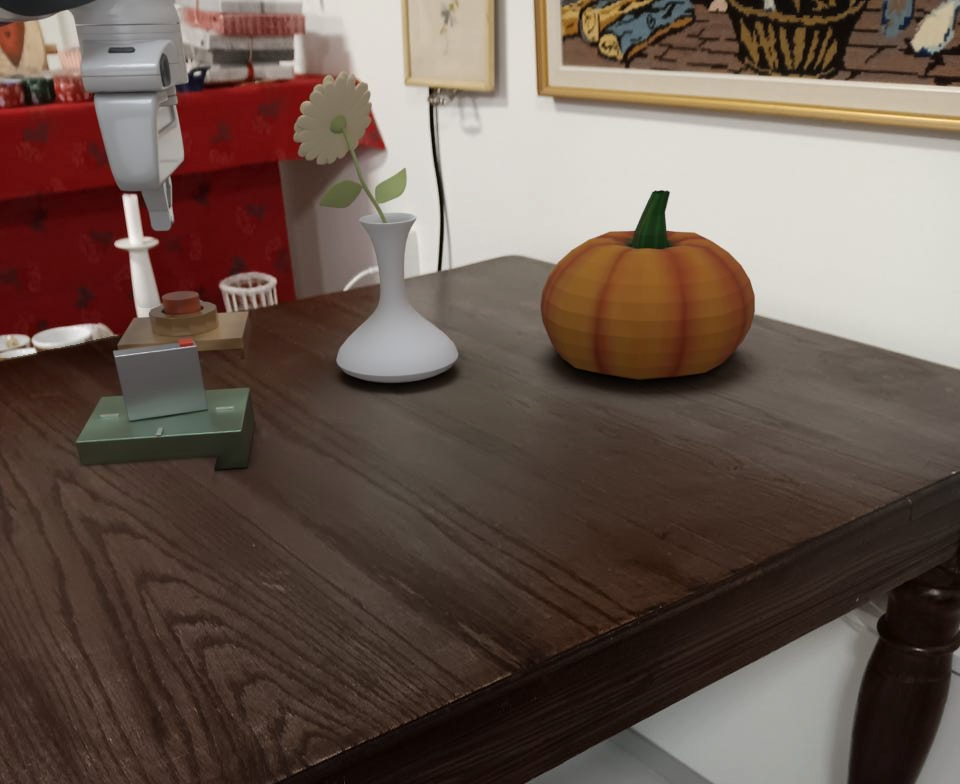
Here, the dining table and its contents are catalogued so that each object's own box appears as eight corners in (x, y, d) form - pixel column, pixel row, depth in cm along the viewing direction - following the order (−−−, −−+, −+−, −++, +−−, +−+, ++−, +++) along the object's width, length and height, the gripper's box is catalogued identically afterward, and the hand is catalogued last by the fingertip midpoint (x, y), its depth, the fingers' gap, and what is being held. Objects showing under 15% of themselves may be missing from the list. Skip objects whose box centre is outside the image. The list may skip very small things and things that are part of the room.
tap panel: (84, 480, 74) (74, 440, 72) (109, 431, 83) (100, 394, 81) (247, 468, 75) (240, 428, 74) (255, 421, 84) (249, 384, 82)
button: (162, 318, 99) (159, 300, 98) (167, 309, 102) (164, 292, 101) (199, 316, 99) (196, 298, 98) (203, 307, 102) (200, 290, 101)
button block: (121, 367, 97) (112, 326, 95) (138, 338, 106) (129, 300, 104) (245, 359, 99) (239, 318, 96) (251, 331, 107) (246, 293, 105)
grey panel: (129, 421, 76) (113, 353, 73) (127, 414, 77) (111, 347, 74) (208, 409, 78) (196, 342, 75) (205, 403, 79) (193, 337, 76)
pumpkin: (503, 374, 93) (500, 201, 85) (599, 324, 106) (605, 171, 98) (696, 410, 83) (714, 219, 75) (775, 350, 97) (798, 183, 89)
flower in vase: (430, 349, 100) (415, 63, 86) (479, 381, 91) (470, 68, 78) (306, 370, 95) (269, 71, 82) (344, 405, 87) (310, 77, 73)
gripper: (118, 58, 97) (146, 210, 104) (75, 69, 80) (111, 250, 87) (184, 57, 97) (207, 208, 105) (155, 67, 80) (185, 247, 88)
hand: (163, 228), depth 96 cm, fingers closed
